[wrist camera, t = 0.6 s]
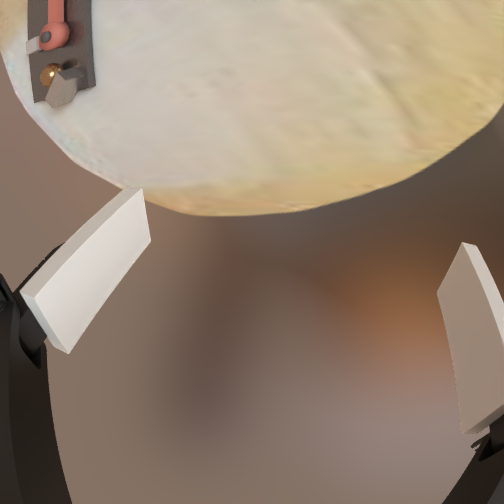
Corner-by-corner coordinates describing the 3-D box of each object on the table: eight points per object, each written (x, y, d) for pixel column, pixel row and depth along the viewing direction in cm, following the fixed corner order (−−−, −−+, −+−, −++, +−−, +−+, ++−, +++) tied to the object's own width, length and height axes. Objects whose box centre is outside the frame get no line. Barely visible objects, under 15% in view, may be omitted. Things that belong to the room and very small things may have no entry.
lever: (36, -21, 21) (3, -20, 16) (71, -42, 20) (37, -45, 14) (36, 58, 31) (3, 67, 25) (70, 43, 29) (34, 50, 24)
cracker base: (35, -17, 23) (11, -16, 19) (93, -50, 21) (67, -54, 16) (41, 108, 38) (18, 118, 34) (96, 95, 36) (71, 103, 31)
